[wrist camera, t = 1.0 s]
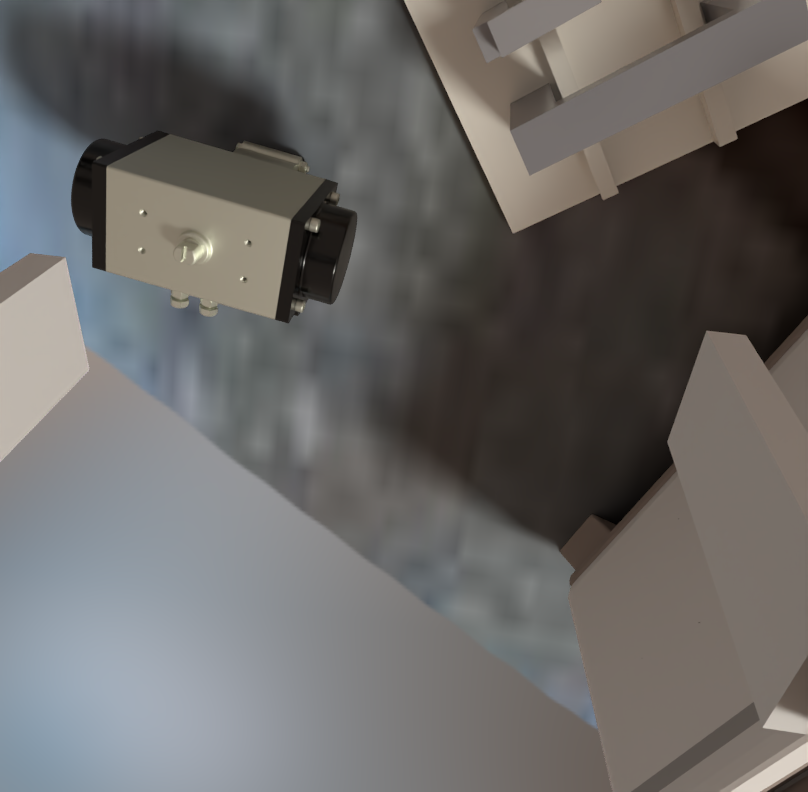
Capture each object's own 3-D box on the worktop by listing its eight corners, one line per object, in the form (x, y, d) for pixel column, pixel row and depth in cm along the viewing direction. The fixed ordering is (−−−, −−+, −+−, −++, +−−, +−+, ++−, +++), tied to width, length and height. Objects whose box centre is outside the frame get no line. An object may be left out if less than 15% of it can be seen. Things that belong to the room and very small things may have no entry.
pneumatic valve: (170, 104, 37) (40, 158, 26) (382, 166, 37) (334, 243, 27) (164, 204, 40) (46, 286, 30) (361, 260, 40) (310, 361, 30)
